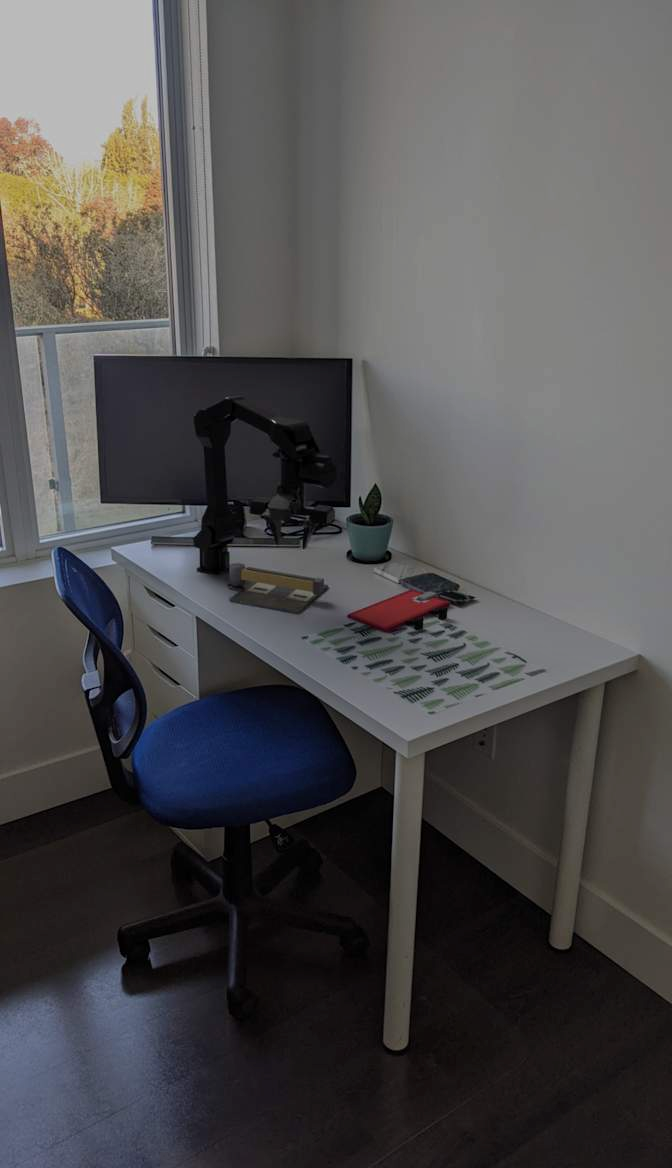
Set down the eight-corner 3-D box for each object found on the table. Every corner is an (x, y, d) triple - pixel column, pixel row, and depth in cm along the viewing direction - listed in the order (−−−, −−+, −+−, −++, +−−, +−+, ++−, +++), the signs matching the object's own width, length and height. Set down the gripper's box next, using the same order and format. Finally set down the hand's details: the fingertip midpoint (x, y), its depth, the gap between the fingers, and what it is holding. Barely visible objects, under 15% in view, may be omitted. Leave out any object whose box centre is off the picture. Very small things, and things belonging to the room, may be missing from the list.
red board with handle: (482, 603, 211) (431, 586, 221) (483, 592, 210) (432, 575, 220) (399, 640, 191) (346, 620, 201) (399, 628, 190) (347, 608, 200)
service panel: (210, 597, 208) (210, 593, 208) (245, 573, 224) (245, 569, 223) (298, 613, 201) (298, 610, 201) (328, 587, 217) (328, 583, 216)
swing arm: (227, 584, 214) (226, 566, 212) (234, 579, 217) (233, 562, 215) (318, 600, 206) (318, 582, 205) (324, 595, 209) (324, 577, 208)
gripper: (238, 482, 197) (238, 550, 202) (318, 493, 191) (316, 563, 196) (260, 471, 207) (259, 536, 212) (337, 481, 201) (334, 548, 206)
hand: (291, 546), depth 206 cm, fingers open, 6 cm apart
